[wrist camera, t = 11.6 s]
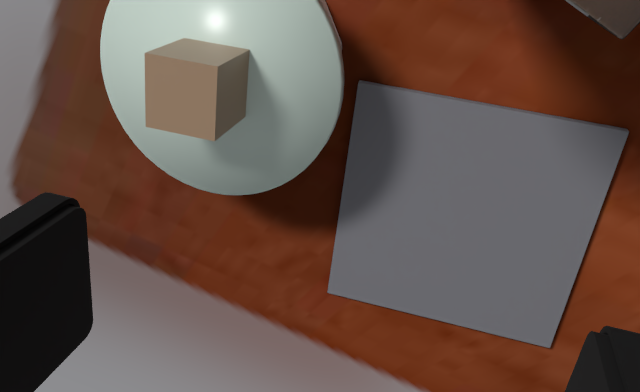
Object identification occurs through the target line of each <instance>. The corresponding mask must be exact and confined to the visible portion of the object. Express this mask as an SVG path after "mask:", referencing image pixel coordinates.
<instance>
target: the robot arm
mask: <svg viewBox="0 0 640 392" xmlns="http://www.w3.org/2000/svg"><path fill="white" fill-rule="evenodd" d="M91 297H92V296H91V283H90V268H89V252H88V237H87V222H86V213H85V211H84V209H82V208H80V205H79V203H78V201H77V200H75V199H74V198H70V197H65V196H61V195H57V194H53V193H46V192H45V193H43V194H40V195H39V196H37V197H36V198H34V199H32V200H31V201H29V202H27V203H26V204H24V205H22V206H21V207H19V208H17V209H16V210H14V211H12V212H11V213H9V214H7V215H6V216H4V217H2V218H1V219H0V392H34V391H35V390H36V389H37V388H38V387H39V386H40V385H41V384H42V383H43V382H44V381H45V380H46V379H47V378H48V377H49V375H50V374H51V373H52V372H53V371H54V370H55V369H56V368H57V367H58V366H59V365H60V364H61V363H62V362H63V361H64V360H65V359H66V358H67V357H68V356H69V355H70V354H71V353H72V352H73V351H74V350H75V349H76V348H77V346H79V345H80V343H82V341H83V340H84V339H85V338H86V337H87V336H88V334H89V332H90V330H91V327H92V324H93V312H92V298H91ZM565 392H640V334H639V333H635V332H631V331H627V330H622V329H618V328H614V327H610V326H605V327H603V329H602V330H601V331H600V333H597V332H593V331H591V332H590V333H589V334H588V335H587V338H586V340H585V342H584V345H583V347H582V350H581V352H580V355H579V357H578V360H577V362H576V365H575V367H574V370H573V372H572V375H571V377H570V380H569V382H568V385H567V388H566V390H565Z"/></svg>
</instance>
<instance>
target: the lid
mask: <svg viewBox="0 0 640 392" xmlns="http://www.w3.org/2000/svg"><path fill="white" fill-rule="evenodd" d="M100 57H101V67H102V74H103V79H104V83H105V88H106V91H107V94H108V97H109V100H110V103H111V105H112V107H113V109H114V111H115V114H116V116H117V118H118V120H119V121H120V123H121V125H122V126H123V128H124V130H125V131H126V133H127V134H128V135H129V137H130V138H131V140H132V141H133V142H134V144H135V145H136V146H137V147H138V148H139V149H140V150H141V151H142V152H143V154H144V155H145V156H146V157H147V158H149V159H150V160H151V161H152V162H153V163H154V164H155V165H157V166H158V167H159V168H161V169H162V170H163V171H165V172H166V173H168V174H169V175H170V176H172V177H174V178H176V179H178V180H179V181H181V182H183V183H185V184H188V185H190V186H192V187H195V188H197V189H201V190H204V191H208V192H211V193H217V194H223V195H248V194H256V193H260V192H264V191H268V190H271V189H273V188H276V187H278V186H281V185H283V184H284V183H286V182H288V181H290V180H292V179H293V178H295V177H296V176H297V175H298V174H300V173H301V172H302V171H304V170H305V169H306V168H307V167H308V166H309V165H310V164H311V163H312V162H313V161H314V159H315V158H316V157H317V155H318V154H319V153H320V151H321V150H322V149H323V147H324V146H325V144H326V143H327V142H328V140H329V138H330V136H331V134H332V132H333V130H334V128H335V126H336V123H337V120H338V117H339V114H340V110H341V105H342V101H343V93H344V64H343V58H342V53H341V47H340V43H339V40H338V37H337V34H336V31H335V28H334V26H333V24H332V21H331V19H330V17H329V15H328V13H327V11H326V9H325V8H324V6H323V4H322V3H321V1H320V0H110V2H109V5H108V7H107V10H106V14H105V17H104V21H103V25H102V33H101V43H100Z"/></svg>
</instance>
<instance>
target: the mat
mask: <svg viewBox="0 0 640 392" xmlns="http://www.w3.org/2000/svg"><path fill="white" fill-rule="evenodd" d="M628 134H629V131H628V129H625V128H620V127H614V126H609V125H603V124H598V123H592V122H587V121H581V120H576V119H570V118H565V117H559V116H554V115H548V114H543V113H537V112H532V111H526V110H521V109H515V108H510V107H504V106H499V105H493V104H488V103H482V102H477V101H471V100H466V99H460V98H455V97H449V96H444V95H438V94H433V93H427V92H422V91H416V90H411V89H405V88H400V87H395V86H389V85H384V84H378V83H373V82H367V81H362V80H360V81H359V82H358V88H357V95H356V102H355V109H354V115H353V122H352V129H351V136H350V143H349V149H348V156H347V163H346V170H345V177H344V183H343V190H342V197H341V204H340V210H339V217H338V224H337V231H336V238H335V244H334V251H333V258H332V265H331V272H330V278H329V285H328V292H327V293H330V294H334V295H338V296H342V297H346V298H350V299H354V300H358V301H362V302H366V303H370V304H374V305H378V306H382V307H386V308H390V309H394V310H398V311H402V312H406V313H410V314H414V315H418V316H422V317H427V318H431V319H435V320H439V321H443V322H447V323H451V324H455V325H459V326H463V327H467V328H471V329H475V330H479V331H483V332H487V333H491V334H495V335H499V336H503V337H507V338H511V339H515V340H519V341H523V342H527V343H531V344H535V345H539V346H543V347H547V348H550V346H551V343H552V341H553V338H554V335H555V333H556V330H557V327H558V324H559V322H560V319H561V316H562V313H563V311H564V308H565V305H566V303H567V300H568V297H569V294H570V292H571V289H572V286H573V284H574V281H575V278H576V275H577V273H578V270H579V267H580V264H581V262H582V259H583V256H584V254H585V251H586V248H587V245H588V243H589V240H590V237H591V234H592V232H593V229H594V226H595V224H596V221H597V218H598V215H599V213H600V210H601V207H602V205H603V202H604V199H605V196H606V194H607V191H608V188H609V185H610V183H611V180H612V177H613V175H614V172H615V169H616V166H617V164H618V161H619V158H620V156H621V153H622V150H623V147H624V145H625V142H626V139H627V136H628Z"/></svg>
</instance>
